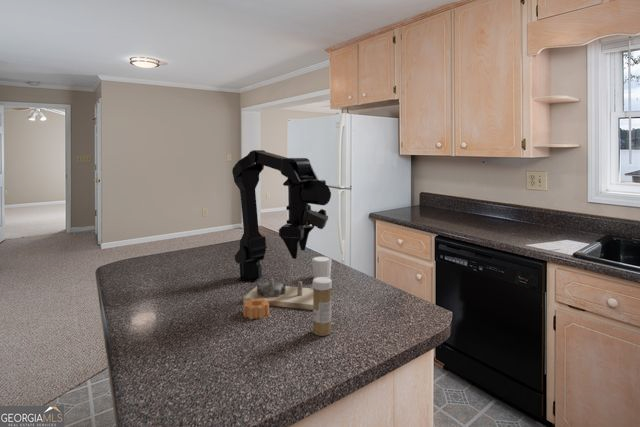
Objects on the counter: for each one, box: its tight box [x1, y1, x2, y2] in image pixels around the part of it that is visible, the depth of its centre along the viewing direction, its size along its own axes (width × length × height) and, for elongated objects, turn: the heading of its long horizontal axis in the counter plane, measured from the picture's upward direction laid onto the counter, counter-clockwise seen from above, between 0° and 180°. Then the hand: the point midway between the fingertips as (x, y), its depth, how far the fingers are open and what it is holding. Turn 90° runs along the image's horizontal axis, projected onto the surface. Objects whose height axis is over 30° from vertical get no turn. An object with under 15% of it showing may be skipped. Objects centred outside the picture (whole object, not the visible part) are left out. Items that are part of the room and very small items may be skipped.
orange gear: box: [242, 298, 270, 320], centre depth 103 cm, size 7×7×3 cm
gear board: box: [242, 278, 313, 311], centre depth 113 cm, size 22×12×6 cm, turn 75°
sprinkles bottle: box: [312, 277, 333, 337], centre depth 91 cm, size 5×5×13 cm
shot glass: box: [311, 255, 333, 279], centre depth 130 cm, size 7×7×7 cm
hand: (299, 254), depth 112 cm, fingers open, 9 cm apart
